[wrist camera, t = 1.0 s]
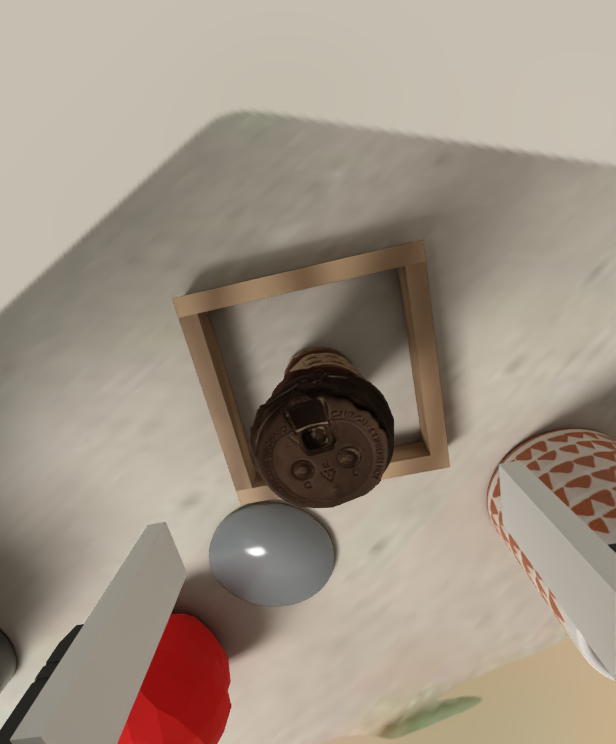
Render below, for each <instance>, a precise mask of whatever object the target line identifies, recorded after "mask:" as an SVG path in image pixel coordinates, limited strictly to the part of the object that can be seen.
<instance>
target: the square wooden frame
mask: <svg viewBox="0 0 616 744" xmlns="http://www.w3.org/2000/svg"><path fill="white" fill-rule="evenodd" d="M394 268H398V274H399V281H400V288H401V295H402V302H403V309H404V316H405V323H406V330H407V337H408V345H409V352H410V359H411V366H412V373H413V380H414V387H415V394H416V401H417V408H418V415H419V422H420V429H421V436H422V441H421V442H416V443H410V444H405V445H400V446H394V451H393V456H392V459H391V462H390V464H389V465H388V468H387V469H386V471H385V472H384V474H383V476H382V477H381V479H387V478H392V477H398V476H403V475H409V474H415V473H420V472H426V471H431V470H437V469H442V468H448V467H450V461H449V453H448V445H447V436H446V428H445V419H444V411H443V402H442V394H441V385H440V377H439V368H438V360H437V352H436V343H435V335H434V326H433V318H432V309H431V301H430V292H429V284H428V275H427V267H426V259H425V250H424V242H423V240H420V241H416V242H411V243H407V244H403V245H398V246H394V247H390V248H386V249H381V250H377V251H373V252H368V253H364V254H360V255H356V256H351V257H347V258H343V259H339V260H334V261H330V262H326V263H321V264H317V265H313V266H309V267H304V268H300V269H296V270H292V271H287V272H283V273H279V274H274V275H270V276H266V277H262V278H257V279H253V280H249V281H245V282H240V283H236V284H232V285H227V286H223V287H219V288H215V289H210V290H206V291H202V292H198V293H193V294H189V295H185V296H180V297H176V298H172V300H173V303H174V306H175V309H176V312H177V315H178V318H179V321H180V324H181V327H182V330H183V333H184V336H185V339H186V342H187V345H188V348H189V351H190V354H191V357H192V360H193V363H194V366H195V369H196V372H197V375H198V378H199V381H200V384H201V387H202V390H203V393H204V396H205V399H206V402H207V405H208V408H209V411H210V414H211V417H212V420H213V423H214V426H215V429H216V432H217V435H218V438H219V441H220V444H221V447H222V450H223V453H224V456H225V459H226V462H227V465H228V468H229V471H230V474H231V477H232V480H233V483H234V486H235V489H236V492H237V495H238V498H239V501H240V504H241V505H242V504H248V503H254V502H259V501H265V500H270V499H276V498H280V497H279V496H278V495H276V494H275V493H274V492H273V491H272V490H271V489H270V488H269V487H268V486H267V484H266V483H265V481H264V480H263V479H262V478H261V476H260V474H259V473H258V472H256V469H255V467H254V466H253V464H252V461H251V458H250V453H249V447H248V443H247V439H246V436H245V433H244V430H243V426H242V423H241V420H240V417H239V413H238V410H237V407H236V403H235V400H234V397H233V394H232V390H231V387H230V384H229V381H228V377H227V374H226V371H225V368H224V364H223V361H222V358H221V355H220V351H219V348H218V345H217V342H216V338H215V335H214V332H213V328H212V325H211V322H210V319H209V315H208V312H207V311H211V310H215V309H219V308H224V307H228V306H232V305H237V304H241V303H246V302H250V301H254V300H259V299H263V298H267V297H272V296H276V295H281V294H285V293H289V292H294V291H298V290H302V289H307V288H311V287H315V286H320V285H324V284H329V283H333V282H337V281H342V280H346V279H350V278H355V277H359V276H364V275H368V274H372V273H377V272H381V271H385V270H390V269H394Z"/></svg>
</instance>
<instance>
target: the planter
mask: <svg viewBox="0 0 616 744" xmlns="http://www.w3.org/2000/svg"><path fill="white" fill-rule="evenodd" d="M519 460H520V461H521V462H522V463H523V464H524V465H525V466H526V467H527V468H528V469H529V470H530V471H531V472H532V473H533V474H534V475H535V476H536V477H538V478H539V479H540V480H541V481H542V482H543V483H544V484H545V485H546V486H547V487H548V488H549V489H550V490H551V491H552V492H553V493H554V494H555V495H556V496H557V497H558V498H559V499H560V500H561V501H562V502H563V503H564V504H565V505H566V506H568V507H569V508H570V509H571V510H572V511H573V512H574V513H575V514H576V515H577V516H578V517H579V518H580V519H581V520H582V521H583V522H584V523H585V524H586V525H587V526H588V527H589V528H590V529H591V530H592V531H593V532H594V533H595V534H596V535H598V536H599V537H600V538H601V539H602V540H603V541H604V542H605V543H606V544H607V545H608V544H614V543H616V440H615V439H613V438H611V437H609V436H607V435H605V434H603V433H600V432H597V431H593V430H588V429H580V428H568V429H560V430H554V431H550V432H547V433H543V434H541V435H538V436H536V437H533V438H531V439H529V440H528V441H526V442H524V443H523V444H521V445H520V446H518V447H517V448H515V449H514V450H513V451H512V452H511V453H510V454H508V455H507V456H506V457H505V459H504V460H503V461H502V462H501V463H500V464H502V463H508V462H514V461H519ZM487 509H488V513H489V516H490V519H491V521H492V523H493V525H494V527H495V528H496V530H497V531H498V533H499V534H500V536H501V537H502V538H503V540H504V541H505V543H506V544H507V546H508V547H509V549H510V550H511V552H512V553H513V554H514V556H515V557H516V559H517V560H518V562H519V563H520V565H521V566H522V568H523V569H524V570H525V572H526V573H527V575H528V576H529V578H530V579H531V581H532V582H533V584H534V585H535V586H536V588H537V589H538V591H539V592H540V594H541V595H542V597H543V598H544V600H545V601H546V603H547V604H548V605H549V607H550V608H551V610H552V611H553V613H554V614H555V616H556V617H557V619H558V620H559V621H560V623H561V624H562V626H563V627H564V629H565V630H566V632H567V633H568V635H569V636H570V637H571V639H572V640H573V642H574V643H575V645H576V646H577V648H578V649H579V651H580V652H581V653H582V655H583V656H584V657H585V658H586V660H587V661H588V662H589V663H590V665H592V667H594V668H595V669H596V670H597V671H598V672H600V673H601V674H603V675H604V676H606V677H608V678H610V679H612V680H614V679H613V677H612V676H611V675H610V673H609V672H608V670H607V669H606V668H605V666H604V665H603V663H602V662H601V661H600V659H599V658H598V656H597V655H596V654H595V652H594V651H593V649H592V648H591V647H590V645H589V644H588V642H587V641H586V640H585V638H584V637H583V635H582V634H581V633H580V631H579V630H578V629H577V627H576V626H575V624H574V623H573V622H572V620H571V619H570V617H569V616H568V615H567V613H566V612H565V610H564V609H563V608H562V606H561V605H560V603H559V602H558V601H557V599H556V598H555V596H554V595H553V594H552V592H551V591H550V589H549V588H548V587H547V585H546V584H545V582H544V581H543V580H542V578H541V577H540V575H539V574H538V573H537V571H536V570H535V568H534V567H533V566H532V564H531V563H530V561H529V560H528V559H527V557H526V556H525V554H524V553H523V552H522V550H521V549H520V547H519V546H518V545H517V543H516V542H515V541H514V539H513V538H512V536H511V535H510V534H509V532H508V531H507V529H506V528H505V527H504V525H503V520H502V506H501V492H500V477H499V466H498V467H497V469H496V471H495V472H494V474H493V476H492V478H491V481H490V484H489V487H488V492H487ZM614 681H615V680H614Z"/></svg>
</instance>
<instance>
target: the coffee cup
mask: <svg viewBox="0 0 616 744" xmlns="http://www.w3.org/2000/svg"><path fill="white" fill-rule="evenodd" d="M284 374H285V376H284V379H283V381H282V382H280V383H279V384H278V385H277V387H276V388H275V389H274V391H273V393H272V396H271V397H270V398H269V399H268V400H267V402H266V403H265V404H264V405H261V406H260V408H259V409H258V410H257V414H256V417H255V420H254V423H253V426H252V427H251V428H250V436H249V442H248V447H249V453H250V458H251V461H252V464H253V466H254V467H255V469H256V470H257V471H258V473H259V474H260V476H261V478H262V479H263V480H264V481H265V483H266V484H267V486H268V487H269V488H270V489H271V490H272V491H273V492H274V493H275V494H276V495H278V496H279V497H280V498H282V499H284V500H286V501H287V502H290V503H293V504H295V505H297V506H300V507H309V508H330V507H335V506H337V505H340V504H343V503H345V502H348V501H351V500H353V499H355V498H358V497H360V496H363V495H366V494H367V493H368V492H369V491H371V490H372V489H373V488H374V487H375V486H376V485H378V484H379V482H380V481H381V477H382V476H383V474H384V472H385V471H386V469H387V468H388V465H389V464H390V462H391V459H392V456H393V451H394V418H393V416H392V414H391V411H390V408H389V406H388V403H387V401H386V400H385V398H384V395H383V394H382V393H381V392H380V391H379V390H378V389H377V388H376V387H375V386H374V385H372V383H370V382H369V381H366V380H365V379H364V377H363V376H362V375H361V374H360V373H359V372H358V371H357V370H356V368H355V367H354V366H353V365H352V363H351V362H350V361H349V360H348V359H347V358H346V357H345V356H344V355H343V354H341V353H340V352H338V351H337V350H334V349H330V348H313V349H308V350H304V351H302V352H301V353H300V354H298V355H296V356H295V357H292V359H290V361H289V364H288V367H287V368H286V370H285V373H284Z"/></svg>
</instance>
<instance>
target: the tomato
mask: <svg viewBox="0 0 616 744" xmlns="http://www.w3.org/2000/svg"><path fill="white" fill-rule="evenodd" d="M229 685H230V672H229V663H228V657H227V655H226V653H225V652H224V650H223V649H222V647H221V645H220V644H219V642H218V640H217V639H216V637H215V636H214V634H213V633H212V632H211V631H210V630H209V629H208V628H207V627H206V626H205V625H204V624H203V623H202V622H200V621H199V620H198V619H197V618H196V617H195V616H191V615H187V614H171V615H170V617H169V620H168V622H167V625H166V627H165V629H164V632H163V634H162V637H161V639H160V641H159V644H158V646H157V649H156V651H155V654H154V656H153V658H152V661H151V663H150V666H149V668H148V670H147V673H146V675H145V678H144V680H143V682H142V685H141V687H140V690H139V692H138V695H137V697H136V699H135V702H134V704H133V707H132V709H131V711H130V714H129V716H128V719H127V721H126V723H125V726H124V728H123V731H122V733H121V735H120V738H119V740H118V743H117V744H217V743H218V741H219V740H220V738H221V736H222V734H223V732H224V729H225V726H226V723H227V719H228V716H229V713H230V709H231V703H230V698H229V694H228V688H229Z"/></svg>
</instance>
